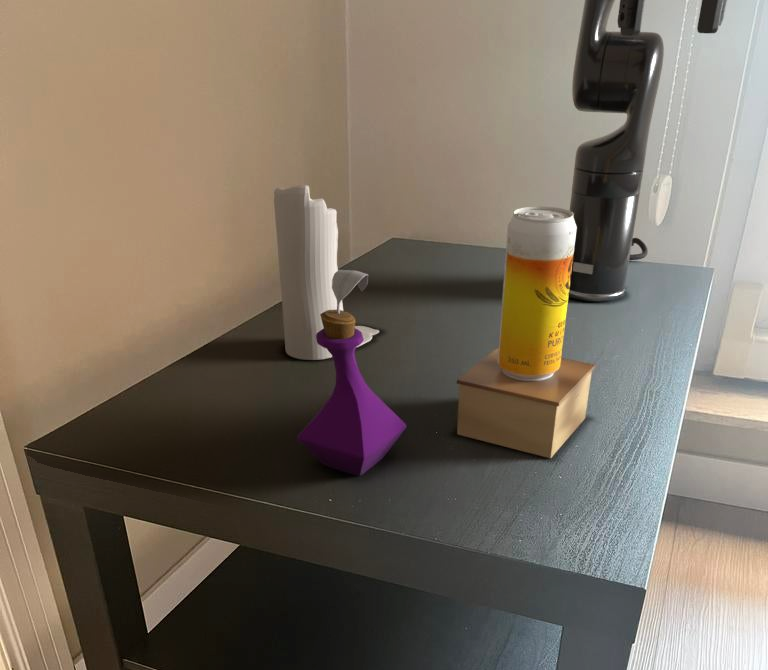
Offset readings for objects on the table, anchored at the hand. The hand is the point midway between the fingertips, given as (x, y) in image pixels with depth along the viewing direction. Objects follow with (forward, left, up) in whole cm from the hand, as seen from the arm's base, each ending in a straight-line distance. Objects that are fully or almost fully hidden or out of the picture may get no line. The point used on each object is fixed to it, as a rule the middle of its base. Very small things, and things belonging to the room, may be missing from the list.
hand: (668, 34), depth 75 cm
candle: (+8, -34, -34) cm, 49 cm away
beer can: (+18, -4, -28) cm, 34 cm away
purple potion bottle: (+33, -15, -34) cm, 50 cm away
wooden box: (+18, -4, -34) cm, 39 cm away
